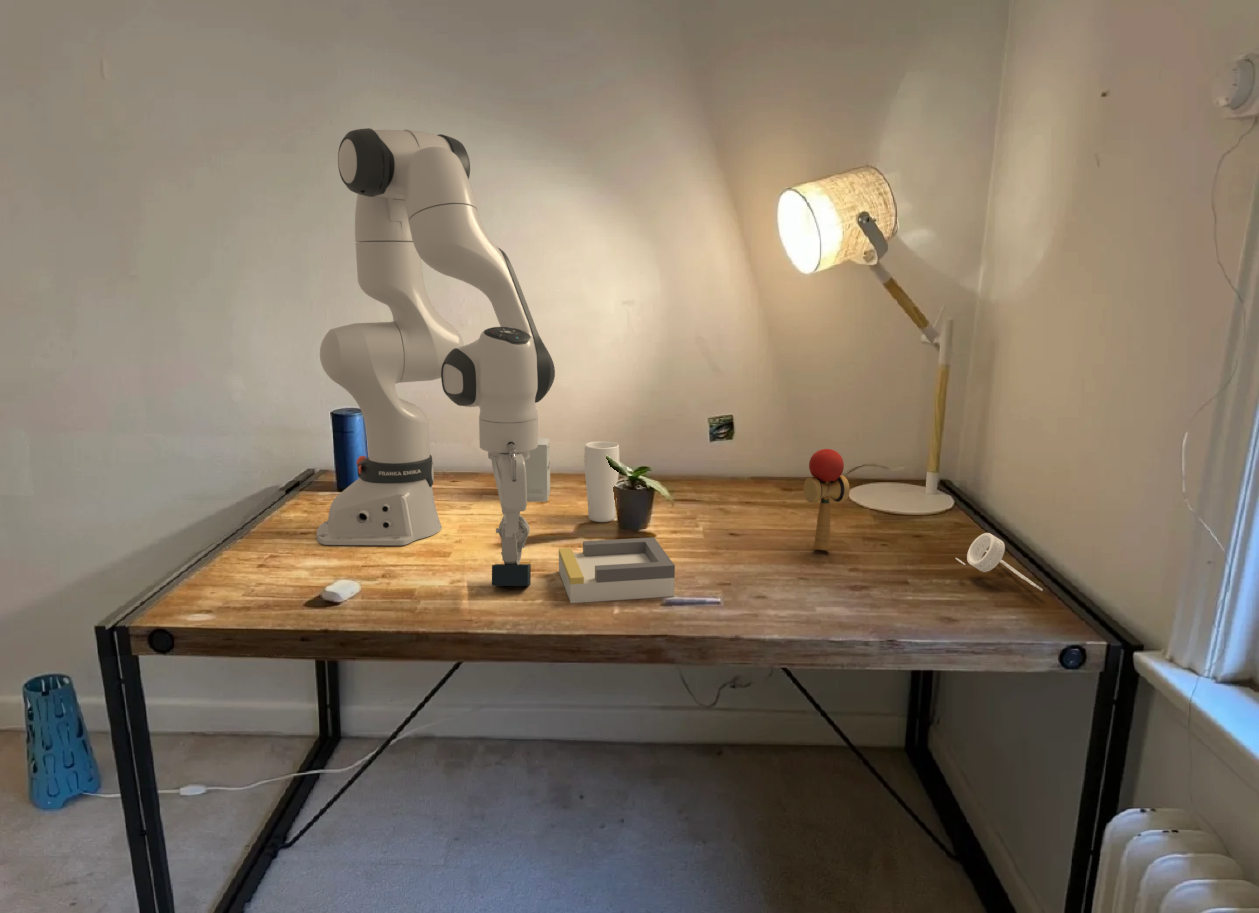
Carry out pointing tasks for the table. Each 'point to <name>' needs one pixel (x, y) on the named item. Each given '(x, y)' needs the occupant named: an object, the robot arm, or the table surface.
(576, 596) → the dock
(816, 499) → the kendama
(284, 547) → the table surface
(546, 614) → the table surface
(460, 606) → the table surface
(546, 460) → the supplement box
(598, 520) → the white vase
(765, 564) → the table surface
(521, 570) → the watch
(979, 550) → the wheel on axle
